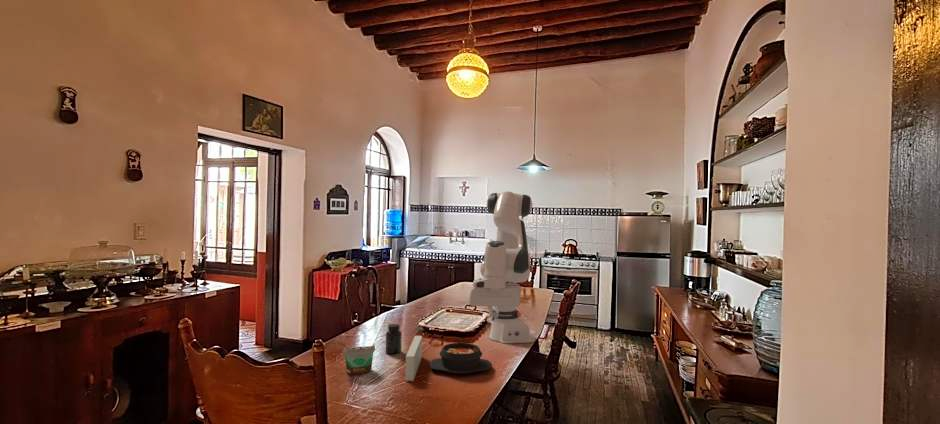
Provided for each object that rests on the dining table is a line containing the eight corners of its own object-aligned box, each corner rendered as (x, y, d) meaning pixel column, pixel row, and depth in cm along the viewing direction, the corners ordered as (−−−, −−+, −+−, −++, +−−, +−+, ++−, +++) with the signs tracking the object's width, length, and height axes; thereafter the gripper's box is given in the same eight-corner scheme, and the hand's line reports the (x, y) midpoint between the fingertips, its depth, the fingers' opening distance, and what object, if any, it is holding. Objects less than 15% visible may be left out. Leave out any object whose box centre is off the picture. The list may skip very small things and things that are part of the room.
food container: (345, 379, 162) (346, 352, 162) (342, 373, 168) (342, 347, 168) (378, 373, 168) (379, 347, 168) (374, 368, 173) (374, 343, 173)
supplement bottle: (395, 348, 198) (395, 322, 197) (404, 352, 193) (404, 325, 193) (382, 352, 193) (382, 325, 192) (391, 356, 188) (392, 328, 188)
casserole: (490, 361, 184) (491, 341, 184) (493, 378, 165) (493, 356, 165) (431, 360, 184) (431, 340, 184) (426, 377, 165) (427, 355, 165)
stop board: (421, 356, 188) (422, 335, 188) (413, 380, 162) (413, 356, 162) (414, 356, 188) (415, 335, 188) (405, 380, 162) (405, 356, 162)
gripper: (520, 281, 177) (519, 315, 177) (469, 280, 177) (469, 314, 177) (522, 284, 171) (521, 319, 171) (469, 283, 171) (468, 318, 171)
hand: (494, 317), depth 174 cm, fingers closed
